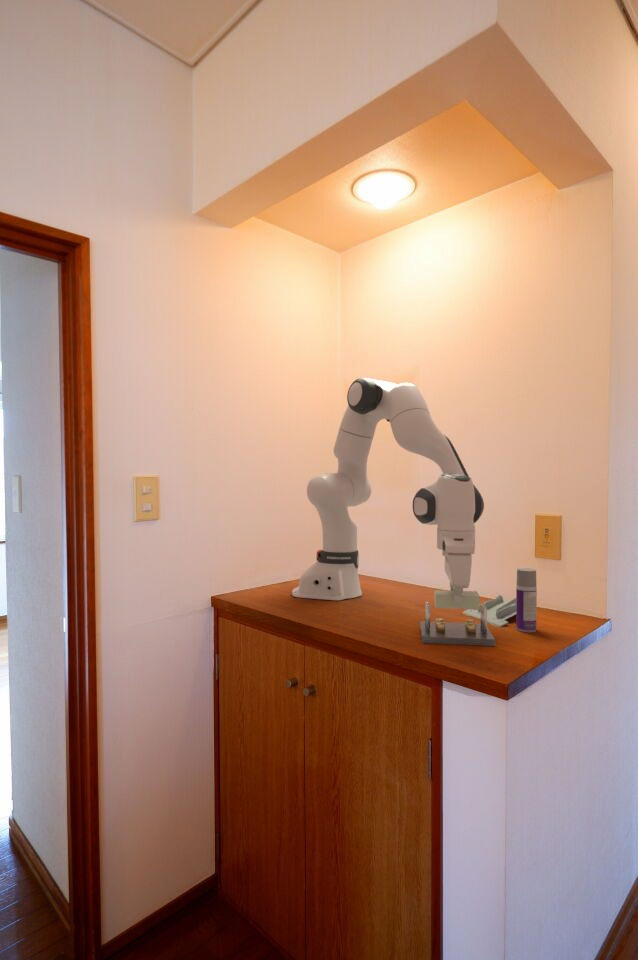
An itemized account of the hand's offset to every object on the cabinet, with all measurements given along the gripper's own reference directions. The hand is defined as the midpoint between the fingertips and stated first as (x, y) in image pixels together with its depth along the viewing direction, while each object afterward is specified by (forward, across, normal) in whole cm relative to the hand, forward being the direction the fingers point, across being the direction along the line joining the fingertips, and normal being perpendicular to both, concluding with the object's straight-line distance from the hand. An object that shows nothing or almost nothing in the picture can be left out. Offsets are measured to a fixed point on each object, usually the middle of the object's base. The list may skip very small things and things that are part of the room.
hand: (455, 599), depth 128 cm
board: (+2, 0, 0) cm, 2 cm away
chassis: (+9, 0, 0) cm, 9 cm away
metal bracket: (+9, -19, +13) cm, 25 cm away
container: (+9, -8, +18) cm, 22 cm away
